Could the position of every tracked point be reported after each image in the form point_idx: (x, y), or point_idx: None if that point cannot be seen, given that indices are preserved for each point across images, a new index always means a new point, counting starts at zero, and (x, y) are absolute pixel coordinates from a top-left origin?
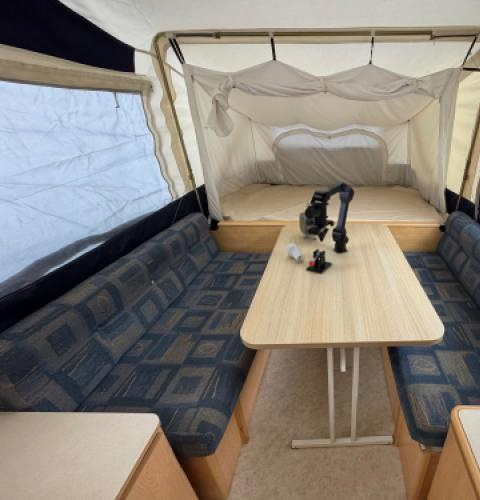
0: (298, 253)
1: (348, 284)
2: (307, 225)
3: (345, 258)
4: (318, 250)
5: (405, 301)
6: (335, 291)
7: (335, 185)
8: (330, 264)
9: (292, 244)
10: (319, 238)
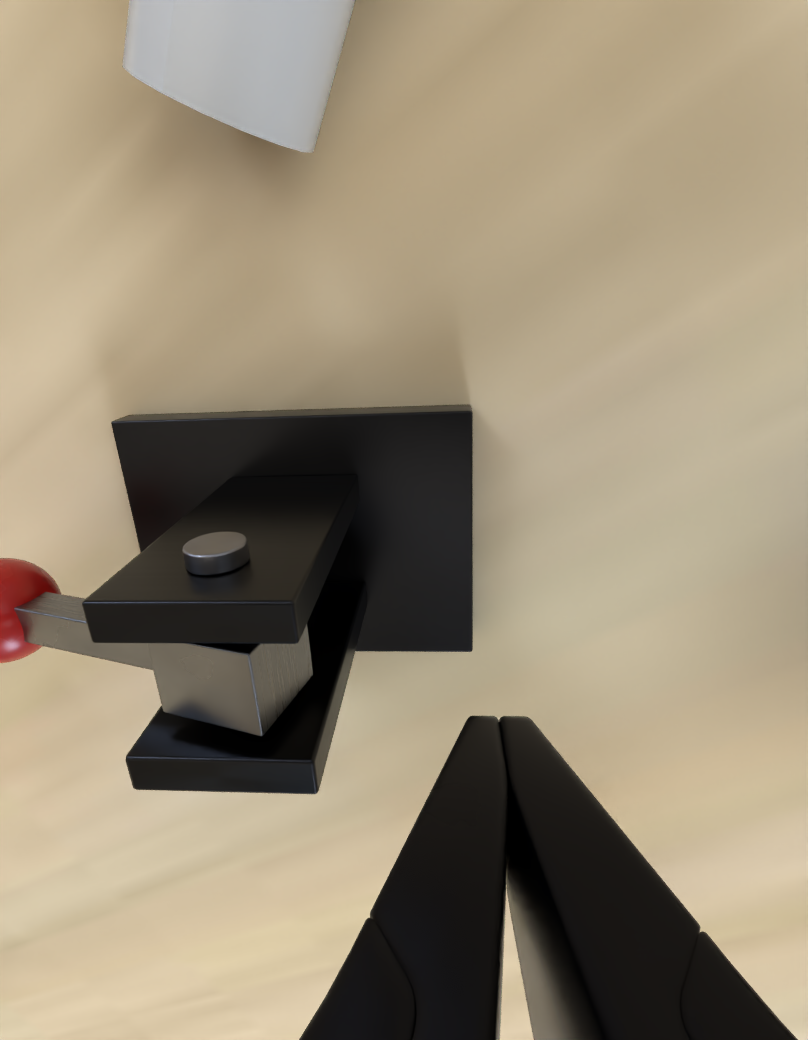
0: None
1: (203, 918)
2: None
3: (753, 703)
4: (277, 633)
5: None
6: (33, 875)
7: None
8: (433, 647)
9: None
10: (419, 823)
